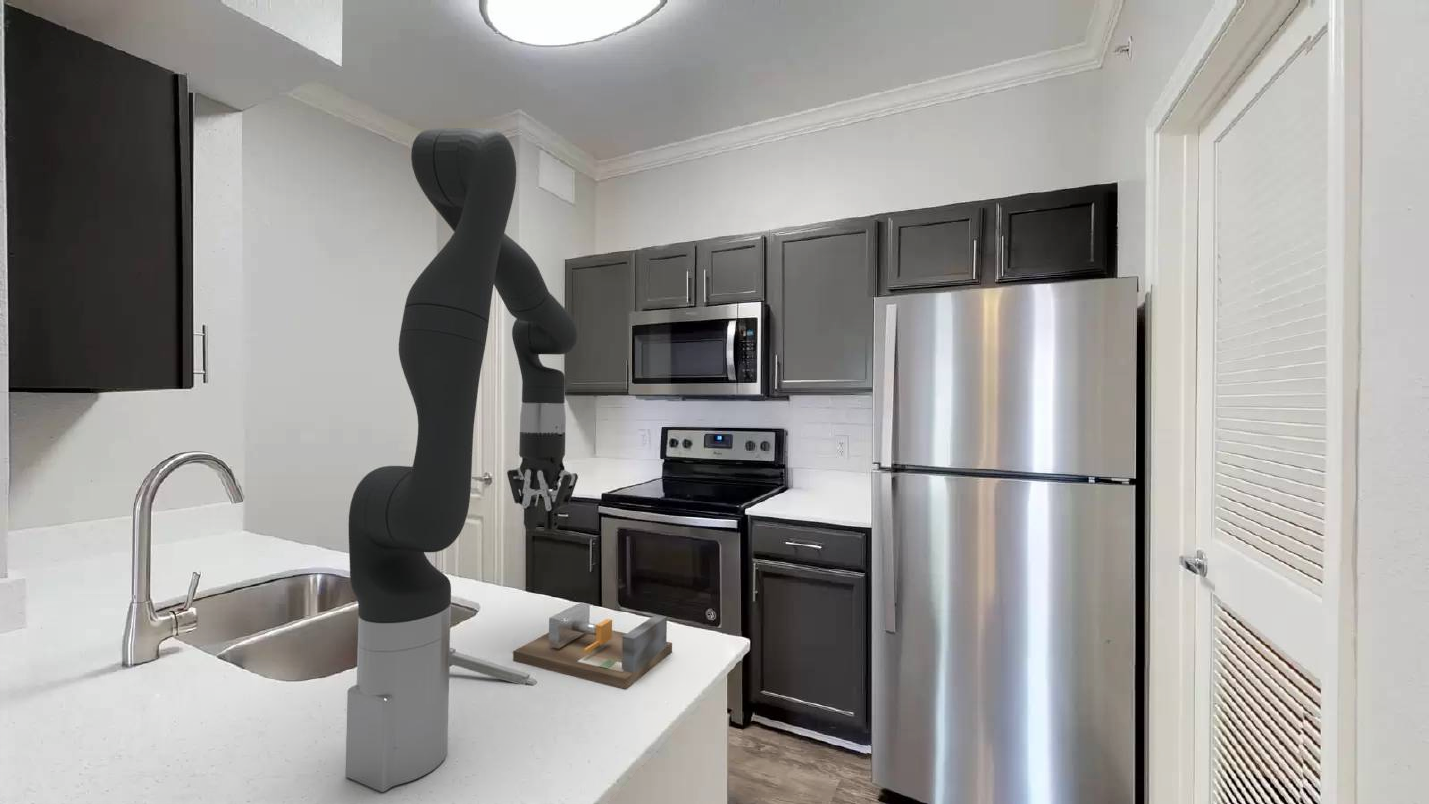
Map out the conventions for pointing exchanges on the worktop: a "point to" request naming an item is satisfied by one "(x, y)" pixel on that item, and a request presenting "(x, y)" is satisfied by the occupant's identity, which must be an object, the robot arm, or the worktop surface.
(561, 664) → the gauge board
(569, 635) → the plunger
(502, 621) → the worktop surface
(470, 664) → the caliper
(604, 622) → the orange paddle
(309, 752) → the worktop surface
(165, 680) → the worktop surface
